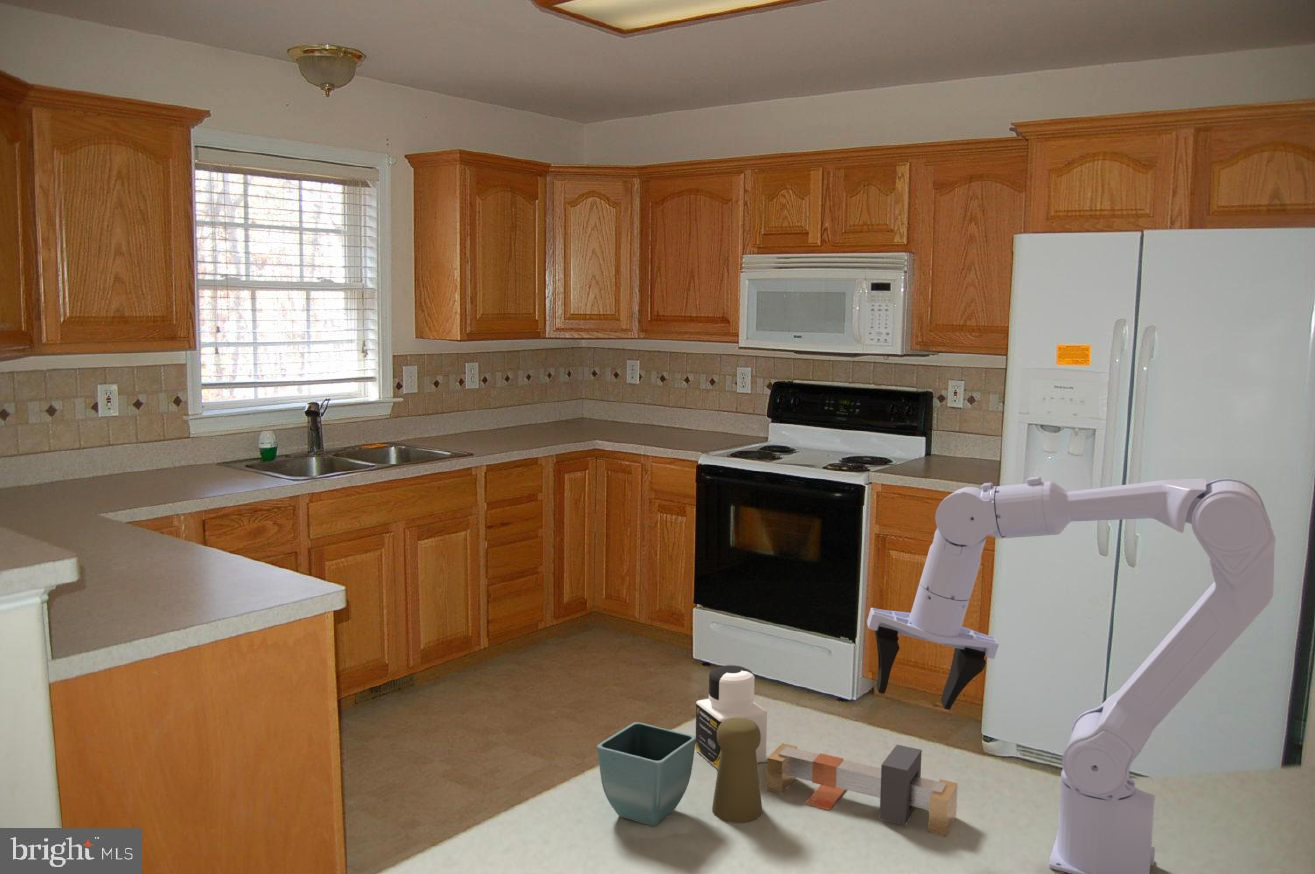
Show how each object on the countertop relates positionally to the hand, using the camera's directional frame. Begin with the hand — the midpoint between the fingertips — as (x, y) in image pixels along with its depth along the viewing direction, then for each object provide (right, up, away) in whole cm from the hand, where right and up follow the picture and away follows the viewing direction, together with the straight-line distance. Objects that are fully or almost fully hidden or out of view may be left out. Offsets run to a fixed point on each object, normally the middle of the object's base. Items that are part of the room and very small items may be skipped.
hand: (912, 697), depth 114 cm
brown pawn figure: (-20, -14, +3) cm, 25 cm away
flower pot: (-31, -14, +2) cm, 34 cm away
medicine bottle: (-20, -13, +17) cm, 29 cm away
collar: (-1, -14, +2) cm, 14 cm away
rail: (-5, -14, +5) cm, 16 cm away
